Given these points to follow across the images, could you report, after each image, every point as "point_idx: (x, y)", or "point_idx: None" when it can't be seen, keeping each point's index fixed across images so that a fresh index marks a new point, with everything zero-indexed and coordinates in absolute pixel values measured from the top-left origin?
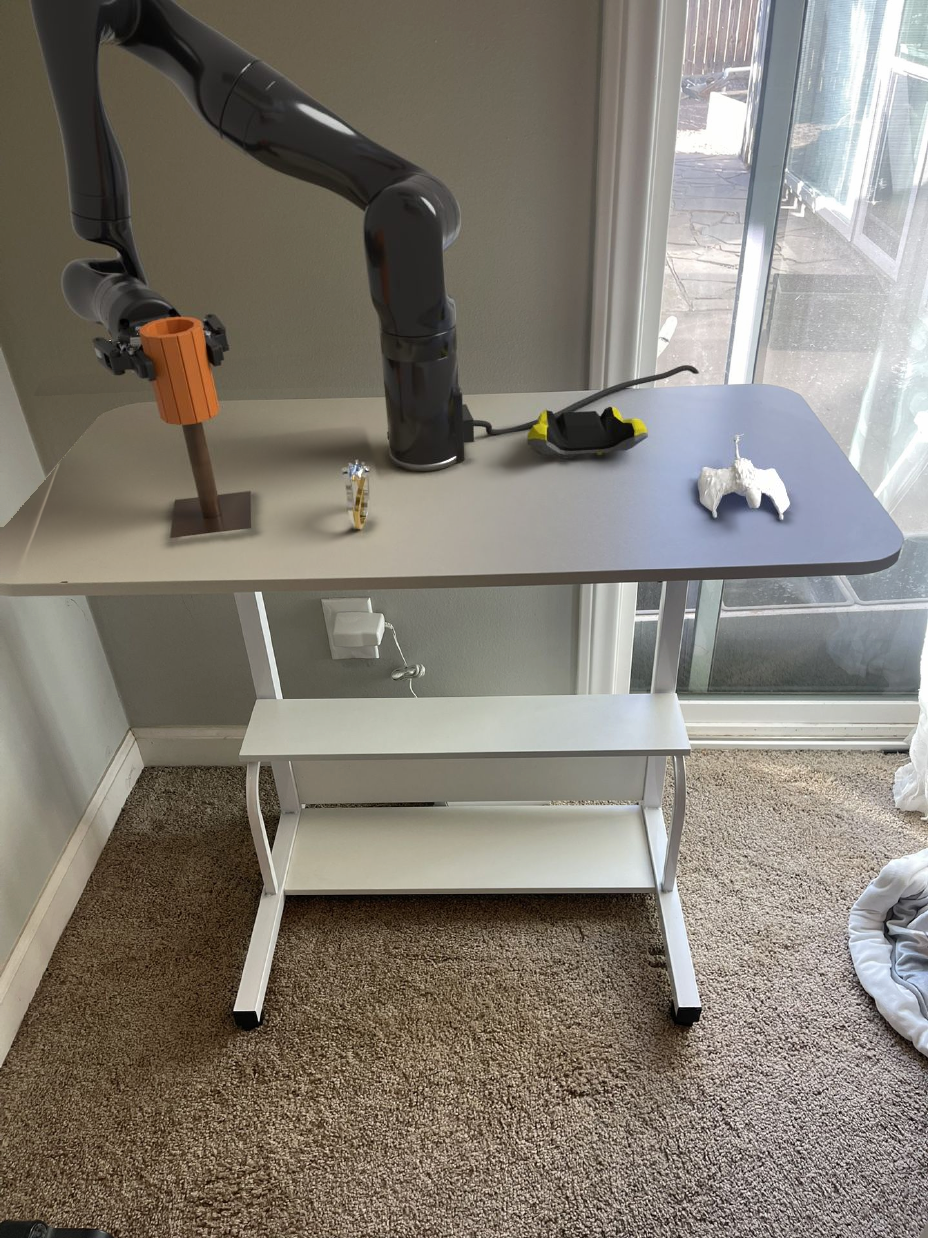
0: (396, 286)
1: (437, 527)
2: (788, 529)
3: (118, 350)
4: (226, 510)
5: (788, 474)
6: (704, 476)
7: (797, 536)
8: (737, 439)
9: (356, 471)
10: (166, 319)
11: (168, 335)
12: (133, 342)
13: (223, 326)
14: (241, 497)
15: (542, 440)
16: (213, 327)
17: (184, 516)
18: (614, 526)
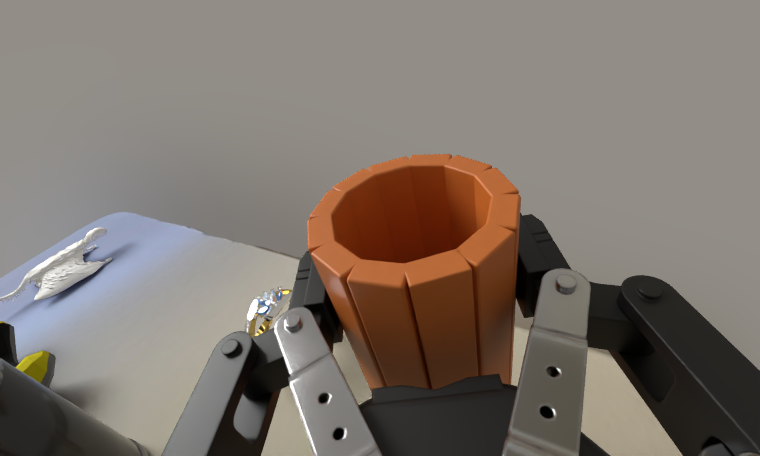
0: None
1: (244, 319)
2: (107, 239)
3: (625, 289)
4: None
5: (16, 288)
6: (54, 288)
7: (114, 233)
8: None
9: (273, 289)
10: (402, 268)
11: (429, 158)
12: (570, 334)
13: (211, 360)
14: None
15: (49, 356)
16: (241, 366)
17: None
18: (156, 272)
